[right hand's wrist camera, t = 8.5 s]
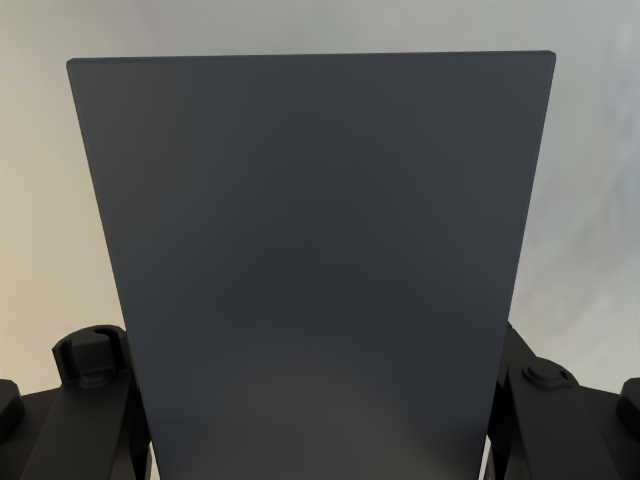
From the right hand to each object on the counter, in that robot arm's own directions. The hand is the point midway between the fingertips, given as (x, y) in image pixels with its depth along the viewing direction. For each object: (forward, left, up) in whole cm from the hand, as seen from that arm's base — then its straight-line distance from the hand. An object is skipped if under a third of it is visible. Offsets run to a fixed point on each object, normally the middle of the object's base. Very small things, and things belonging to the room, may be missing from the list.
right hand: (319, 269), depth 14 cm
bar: (+8, -26, 0) cm, 27 cm away
